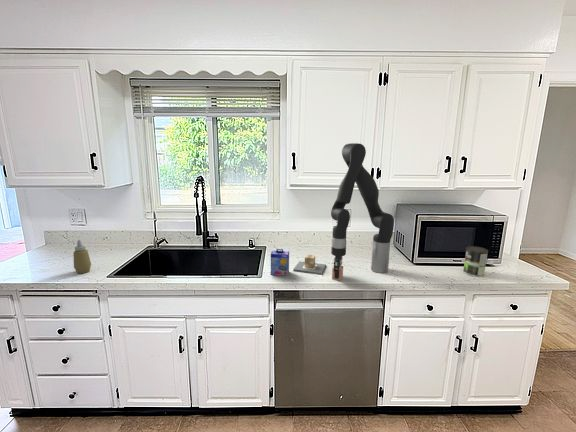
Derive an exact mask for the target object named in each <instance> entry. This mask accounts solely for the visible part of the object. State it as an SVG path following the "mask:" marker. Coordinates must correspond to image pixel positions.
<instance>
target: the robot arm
mask: <svg viewBox="0 0 576 432" xmlns="http://www.w3.org/2000/svg"><path fill="white" fill-rule="evenodd" d="M366 153H367V150H366V147H365V146H364V145H363V144H362V143H359V142H358V143H357V142H356V143H355V142H353V143H351V142H350V143H346V144H345V145H343V147H342V149H341V155H342V159H343V161H344V162H345V164H346V165H347V168H348V169H347V170H346V171H347V172H346V173H345V175H344V177H343V179H342V180H341V182H340V185H339V187H338V192H337V196H336V200H335V201H334V204H333V205H332V207H331V210H330V211H331V212H330V214H331V215H330V216H331V219H333V220H334V221H336V222H337V223H336V225H333V227H332V238H331V252H330V253H331V256H334V258H333V266H334V272H335V277H334V278H336V279H338V278H339V269H340V267H341V266H343V257H345V256H346V254H347V230H348V227H349V223H350V219H351V214H350V211H349V210H348V209H345V207H346V205H348V204H351V200H352V196H353V192H354V189H355V184H356V187H357V188H358V192H359V193H360V194H359V195H361V198H362V199H363V202H364V205H365V206H366V209H367V212H368V215H369V218H370V222H371V224H372V225H373V226H374V227H375V228H377V229H378V233H376V234H373V239H372V249H371V250H372V252H371V266H370V270H371V271H372V272H374V273H377V272H378V273H379V274H385V273H389V266H390V265H389V264H390V250H391V240H392V238H393V236H394V235H393V233H394V227H395V226H394V225H395V219H394V216H393V215H392V214H391V213H388V212H385V211H383V210H382V208H381V206H380V204H379V197H380V195H379V194H380V191H379V187H378V185H377V182H376V181H375V178H374V177H373V176H372V174H370V173H369V172H368V169H366V168H365V167H364V165H363V163H364V161H365V158H366ZM336 268H337V269H338V270H336Z"/></svg>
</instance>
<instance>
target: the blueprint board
mask: <svg viewBox="0 0 576 432" xmlns="http://www.w3.org/2000/svg"><path fill="white" fill-rule="evenodd" d="M326 267H327V264H326V263H318V262H317V263H316V262H315V267H314V268H313V269H312V268H305V261H300V260H299V261H298V262H297V264H296V265H295V267H293V269H292V271H293V272H299V273H305V274H306V273H308V274H314V275H315V274H316V275H322V274H323V272H324V271H325V268H326Z"/></svg>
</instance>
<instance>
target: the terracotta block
mask: <svg viewBox="0 0 576 432" xmlns="http://www.w3.org/2000/svg"><path fill="white" fill-rule="evenodd" d="M331 270H332V271H331V279H332V280H336V281H337V280H338V281H342V280H343V277H344V266H343V265H341V267H340V269H339V278H338V279H336V278H334V277H335V272H334V265H333V266H332V269H331ZM336 270H338V269H337V268H336Z"/></svg>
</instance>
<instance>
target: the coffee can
mask: <svg viewBox="0 0 576 432" xmlns="http://www.w3.org/2000/svg"><path fill="white" fill-rule="evenodd" d="M488 253H489V249H488V248H487V249H486V248H485V247H482V246H481V247H480V246H477V245H475V246H474V245H469V246H466V248H465V256H464V265H463V271H462V272H463V274H465V275H468V276H471V277H475V278H476V277H477V278H478V277H479V278H482V277H484V276H485V272H486V271H485V270H486V265H487V258H488Z"/></svg>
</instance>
